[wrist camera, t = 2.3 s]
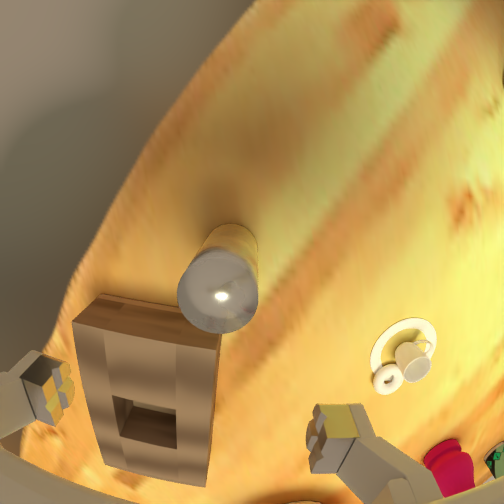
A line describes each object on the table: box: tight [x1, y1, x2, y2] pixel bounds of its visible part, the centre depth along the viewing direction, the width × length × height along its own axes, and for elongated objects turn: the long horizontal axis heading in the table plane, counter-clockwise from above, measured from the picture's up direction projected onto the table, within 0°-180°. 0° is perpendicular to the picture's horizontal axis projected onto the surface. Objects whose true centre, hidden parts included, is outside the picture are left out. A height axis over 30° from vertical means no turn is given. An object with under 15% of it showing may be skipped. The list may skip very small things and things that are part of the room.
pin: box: [177, 223, 258, 334], centre depth 22 cm, size 4×4×10 cm
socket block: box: [72, 294, 222, 487], centre depth 28 cm, size 20×12×6 cm, turn 173°
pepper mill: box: [424, 439, 475, 498], centre depth 25 cm, size 7×7×20 cm
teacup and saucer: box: [370, 318, 437, 395], centre depth 28 cm, size 9×8×4 cm
